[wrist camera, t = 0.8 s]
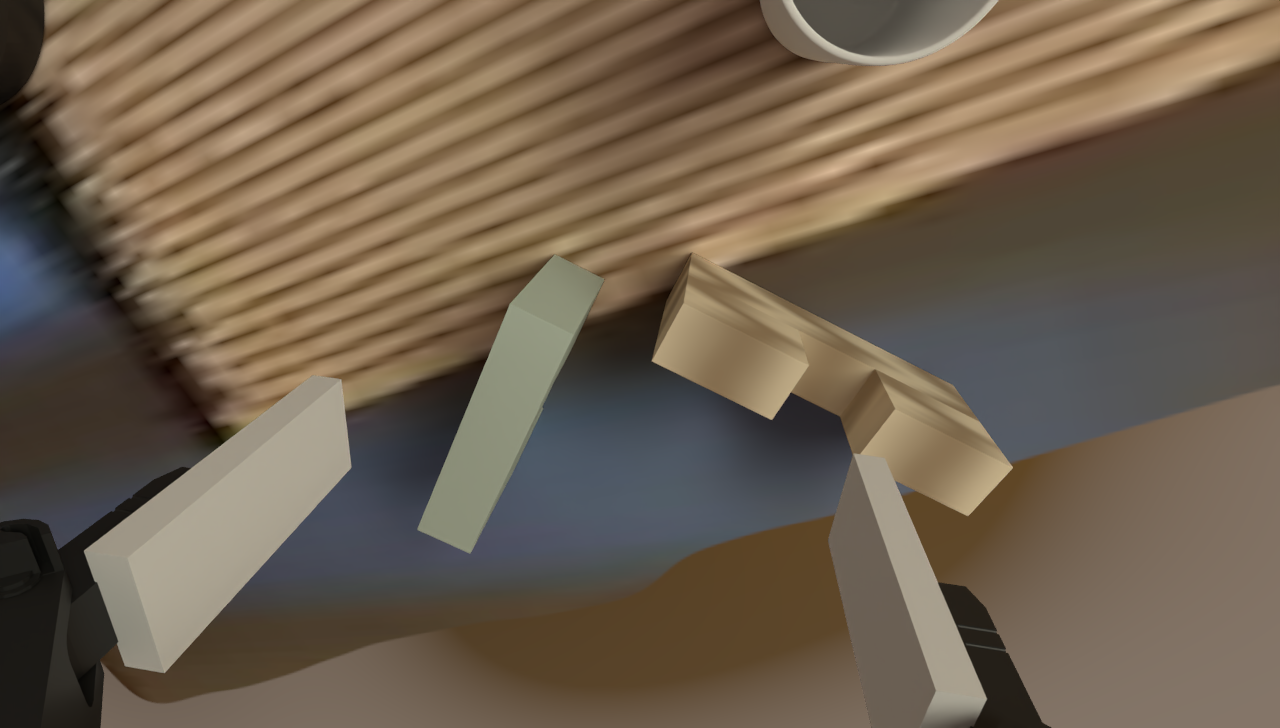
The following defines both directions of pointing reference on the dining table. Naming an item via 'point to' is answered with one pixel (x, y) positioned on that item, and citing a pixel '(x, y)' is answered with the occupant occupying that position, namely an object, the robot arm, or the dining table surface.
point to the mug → (870, 28)
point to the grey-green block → (509, 400)
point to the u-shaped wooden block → (827, 382)
